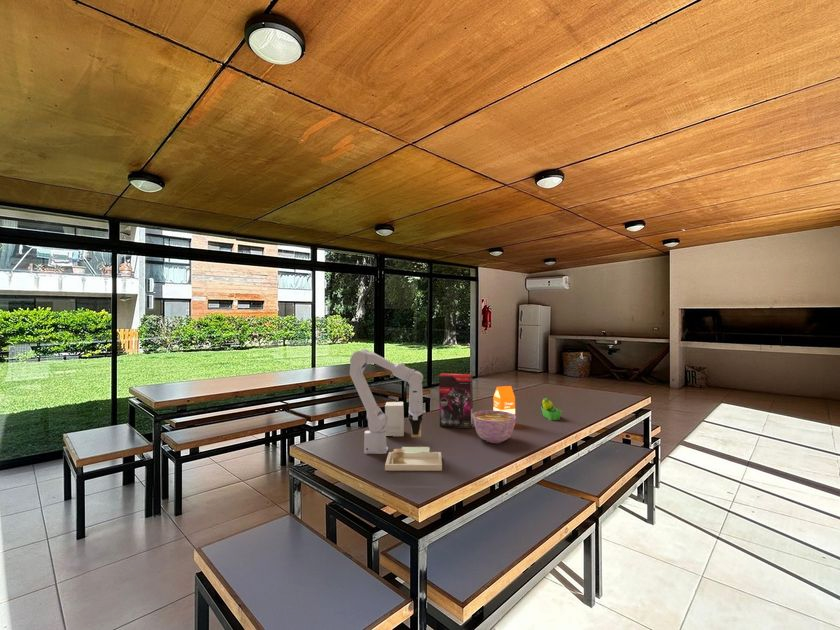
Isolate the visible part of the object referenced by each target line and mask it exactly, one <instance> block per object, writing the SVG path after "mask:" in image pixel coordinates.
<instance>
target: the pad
mask: <svg viewBox="0 0 840 630" xmlns="http://www.w3.org/2000/svg"><path fill="white" fill-rule="evenodd" d="M401 449H404V452H431V451H430V446H401Z"/></svg>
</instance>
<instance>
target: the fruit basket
mask: <svg viewBox="0 0 840 630" xmlns="http://www.w3.org/2000/svg"><path fill="white" fill-rule="evenodd" d="M541 402H542V406H540V409H541V411H542V415H543V417H544V418H546V419H548V420H549V421H560V418H561V414H562V413H563V412H562V411H563V410H560V409H558V408H556V407H554V406H553V405H554V403H553V402H552V401H551V400H549V399H548V398H545V397H544V398H543V400H542V401H541Z"/></svg>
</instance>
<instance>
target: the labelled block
mask: <svg viewBox="0 0 840 630" xmlns="http://www.w3.org/2000/svg"><path fill="white" fill-rule="evenodd" d="M410 433H411V434H410V436H411V438H421V437H422V422H421V423H420V427H419V433H418V435H413V431H412V426H411V425H410Z"/></svg>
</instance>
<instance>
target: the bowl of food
mask: <svg viewBox="0 0 840 630" xmlns="http://www.w3.org/2000/svg"><path fill="white" fill-rule="evenodd" d="M516 421H517V416H516V414H515V415H514V414H512V413H509V412H504V411H493V410H490V409H489V410H480V411H479V410H478V411H475V412H473V425H474V428H475V432H476V434H477V435H478V437H479V438H481V439H482V440H484V441H485V440H486V441H485V442H486V443H489V442H490V443H491V444H501V443H503V442H504V441H505V442H506V440H508V439H510V438H511V436H512V435H513V432H514V428H515V426H516Z"/></svg>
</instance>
